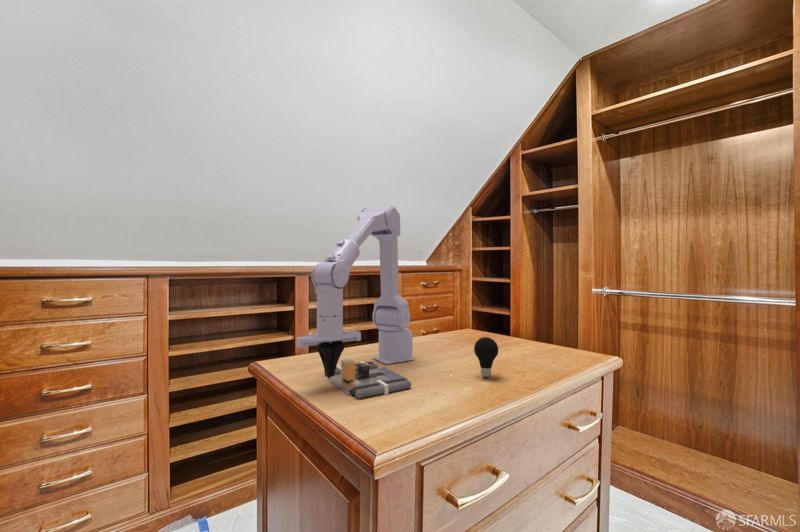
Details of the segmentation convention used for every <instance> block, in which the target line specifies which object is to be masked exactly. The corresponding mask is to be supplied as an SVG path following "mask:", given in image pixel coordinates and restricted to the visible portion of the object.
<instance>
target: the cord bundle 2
mask: <svg viewBox="0 0 800 532" xmlns="http://www.w3.org/2000/svg"><path fill="white" fill-rule="evenodd" d="M405 378H406V377H405ZM405 378H400V379H395V380H389V381H384V382H382V381H381V380H376V383H373V384H368V385H362V386H357V387H354V388H352V390H351V393H352V394H353V395H352V396H354V397H356V398H357V399H364V398H368V397H373V396H378V395H382V394H383V395H384V396H387V395H389V393H391V392H392V393H393V392H398V391H402V390H407V389H410V388H411V387H412V382H411V381H410V380H409V379H408V380H406V379H405Z"/></svg>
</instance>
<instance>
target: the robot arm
mask: <svg viewBox="0 0 800 532" xmlns="http://www.w3.org/2000/svg"><path fill="white" fill-rule="evenodd" d="M370 236H372V237H374V238H375V239H376V240H377V241H378V242H379V243H378V244H379V270H380V274H379V275H380V278H379V279H380V296H379V298H377V299H376V300H375V301H374V303H373V310H372V311H373V312H372V315H371V316H372V322H373V325H375V326H376V329H377V330H378V355H373V356H372V358H373V359H374V360H376V361H378V362H381V363H383V364H385V365H389V364H391V365H392V364H396V363H402V362H409V361H414V360H415V359H414V357H413V347H414V346H413V344H414V342H413V333H412V331H411V330H410V329H409V328H408V326H409V325H410V323H411V322H410V321H411V312H410V309H409V301H407V300H406V299H404V297H402V296H401V295H400V291H399V290H400V289H399V288H400V286H399V251H398V246H399V245H398V244H399V243H398V242H399V241H398V237H400V236H401V215H400V213H399V211H398V209H397V207H395V206H393V205H390V206H383V207H381V206H380V207H369V208H368V207H363V208H362V209H361V210H360V211H359V213H358V214H357V223H356V224H355V226H354V228H352V231H351V232H350V233H349V236H348V237H347V239H345V238H344V239H341V240H338V241H337V242H336V245H335V247H334V248H333V249H332V251H331V252H330V253H329V254H328V256H326V258H325V259H324V261H319V262H318V263H317V264H315V266H314V267H313V270H312V273H310V278H311V282H312V284H313V286H314V292H315V295H316V333H314V334H310V335H303V336H298V337H296V340H295V341H296V342H295V343H296V344H295V345H296V347H298V348H299V349H301V348H305V347H310V346H311V347H312V346H314V347H315V349H316V351H317V352H318V354H319V357H320V359H321V362H322V365H323V370H324V375H325V376H326V377H327V378H330V377H333V376H334V374H335V369H336V366H337V365H338V362H339V360H340V357H341V355H342V353H343V352H344V350H345V342H346V343H348V342H353V341H354V342H359V341H361V340H362V332H361V331H358V330H356V331H355V330H354V331H344V327H343V326H344V314H343V313H344V307H343V305H344V287H345V286H346V285H347V284H348V282H349V279H350V273H351V270H352V269H351V268H352V266H353V265H354V263H355V262H356V260H358V257H359V256H360V252H361V251H360V247H361V246H362V244H364V243H365V241H366V240H367V239H368V238H369V237H370Z"/></svg>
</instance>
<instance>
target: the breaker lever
mask: <svg viewBox="0 0 800 532" xmlns="http://www.w3.org/2000/svg"><path fill="white" fill-rule="evenodd" d="M355 364H356V361H355V360H353V359H351V358H345V359H341V377H342V378H344V379H345V380H347V381H349V380H355Z"/></svg>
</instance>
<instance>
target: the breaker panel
mask: <svg viewBox="0 0 800 532" xmlns="http://www.w3.org/2000/svg"><path fill="white" fill-rule="evenodd" d="M365 363H366V362H365ZM365 363H362V364H359V363H357V364H358V372H355V380H349V381H347V380H345V379H344V378H342V377H341V374H340V375H334V376H333V377H329V382H331V383H332V384H333V385H334V386H336V387H337V388H338V389H340V390H341V391H342V392H344V393H345V394H347V396H354V395H353V394H352V393H351V390H352V388H354V387H357V386H362V385H368V384H373V383H376V380H381V381H382V382H384V381H389V380H395V379H400V378H405V379H406V380H409V379H408V377H405V376H404V375H402V374H399V373H397V372H396V371H393V370H391V369H390V368H387V367H386V366H384V367H379V368H377V369H371V370H369V365H367V364H365Z"/></svg>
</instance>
